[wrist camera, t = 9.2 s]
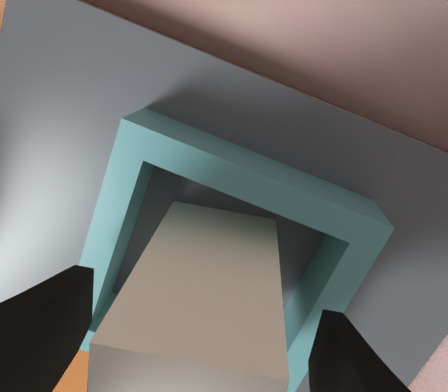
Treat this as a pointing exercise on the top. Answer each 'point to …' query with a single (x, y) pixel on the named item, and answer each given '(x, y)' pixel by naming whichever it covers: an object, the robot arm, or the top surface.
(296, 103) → the organizer
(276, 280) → the cream block
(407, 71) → the top surface
